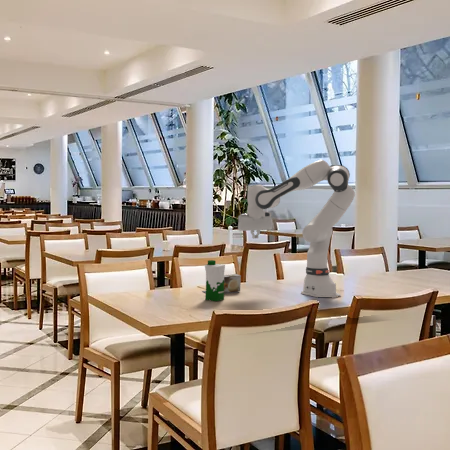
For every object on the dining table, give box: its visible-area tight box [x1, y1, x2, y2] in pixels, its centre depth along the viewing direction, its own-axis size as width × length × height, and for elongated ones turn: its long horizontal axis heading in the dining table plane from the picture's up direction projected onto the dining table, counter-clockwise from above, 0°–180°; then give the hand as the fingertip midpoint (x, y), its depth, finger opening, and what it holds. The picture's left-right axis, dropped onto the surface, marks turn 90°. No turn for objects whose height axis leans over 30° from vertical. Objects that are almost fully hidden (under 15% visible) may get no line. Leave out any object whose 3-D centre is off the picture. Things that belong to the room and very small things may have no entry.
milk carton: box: [204, 259, 226, 302], centre depth 298 cm, size 9×9×20 cm
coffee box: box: [224, 273, 242, 294], centre depth 320 cm, size 9×6×16 cm
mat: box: [201, 290, 240, 295], centre depth 321 cm, size 10×18×1 cm, turn 113°
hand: (255, 238), depth 327 cm, fingers closed
